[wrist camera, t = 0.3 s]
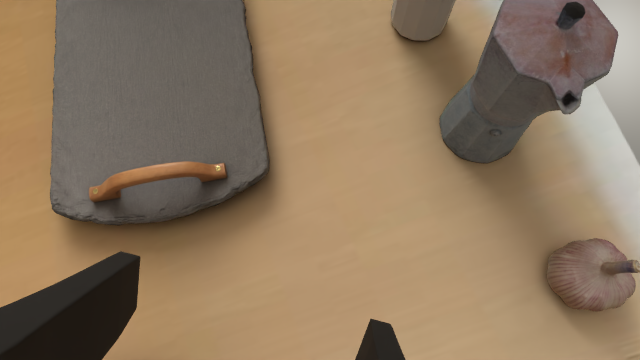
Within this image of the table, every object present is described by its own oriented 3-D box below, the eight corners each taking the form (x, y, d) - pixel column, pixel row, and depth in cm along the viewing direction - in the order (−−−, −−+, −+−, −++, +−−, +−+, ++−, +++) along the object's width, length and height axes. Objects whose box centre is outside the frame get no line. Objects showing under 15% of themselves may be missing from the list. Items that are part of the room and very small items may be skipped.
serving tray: (68, -26, 57) (39, -68, 51) (235, -51, 58) (226, -94, 52) (62, 248, 43) (22, 234, 37) (281, 206, 45) (275, 186, 39)
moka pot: (446, 191, 45) (534, 88, 26) (422, 73, 51) (481, -81, 32) (532, 184, 45) (679, 77, 27) (499, 68, 51) (601, -89, 32)
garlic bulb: (626, 269, 42) (692, 254, 35) (601, 332, 40) (665, 331, 32) (556, 228, 44) (605, 206, 36) (528, 287, 41) (573, 276, 34)
